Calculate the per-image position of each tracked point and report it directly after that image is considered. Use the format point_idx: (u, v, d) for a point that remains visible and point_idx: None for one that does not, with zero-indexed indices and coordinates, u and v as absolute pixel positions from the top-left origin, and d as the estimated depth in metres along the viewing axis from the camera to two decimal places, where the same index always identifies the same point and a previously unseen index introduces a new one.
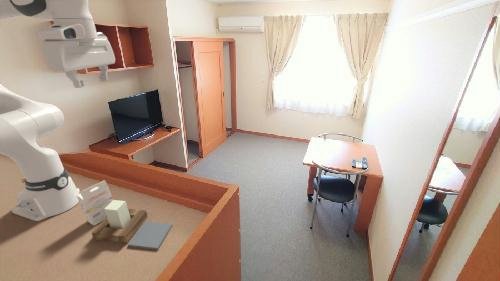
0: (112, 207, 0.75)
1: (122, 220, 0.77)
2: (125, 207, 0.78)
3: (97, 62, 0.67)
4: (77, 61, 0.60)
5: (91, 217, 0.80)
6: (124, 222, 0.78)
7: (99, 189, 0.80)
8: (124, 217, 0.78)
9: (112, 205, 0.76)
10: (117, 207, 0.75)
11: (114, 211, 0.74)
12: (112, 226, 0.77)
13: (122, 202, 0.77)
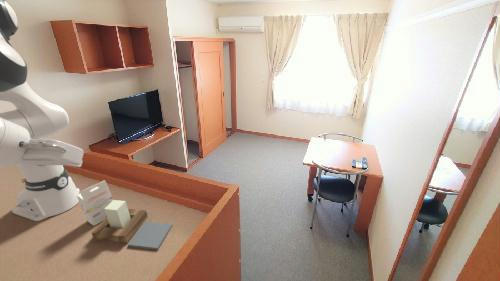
0: (112, 207, 0.75)
1: (122, 220, 0.77)
2: (125, 207, 0.78)
3: (43, 164, 0.50)
4: None
5: (91, 217, 0.80)
6: (124, 222, 0.78)
7: (99, 189, 0.80)
8: (124, 217, 0.78)
9: (112, 205, 0.76)
10: (117, 207, 0.75)
11: (114, 211, 0.74)
12: (112, 226, 0.77)
13: (122, 202, 0.77)
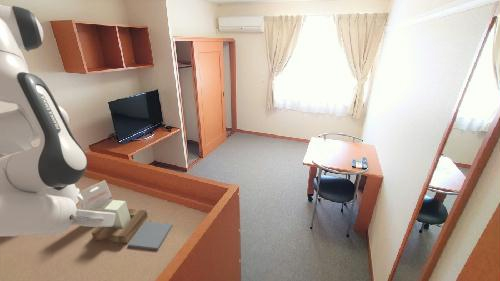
0: (112, 207, 0.75)
1: (122, 220, 0.77)
2: (125, 207, 0.78)
3: None
4: None
5: None
6: (124, 222, 0.78)
7: (99, 189, 0.80)
8: (124, 217, 0.78)
9: (112, 205, 0.76)
10: (117, 207, 0.75)
11: (114, 211, 0.74)
12: (112, 226, 0.77)
13: (122, 202, 0.77)
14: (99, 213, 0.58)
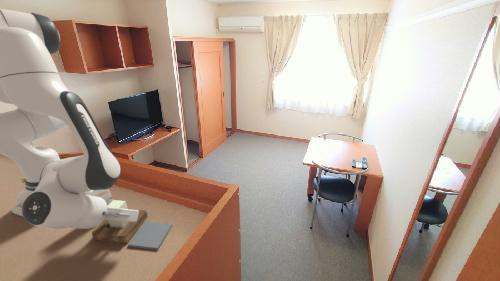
0: None
1: None
2: (125, 207, 0.78)
3: None
4: None
5: None
6: (124, 222, 0.78)
7: None
8: None
9: (112, 205, 0.76)
10: (117, 207, 0.75)
11: None
12: (112, 226, 0.77)
13: (122, 202, 0.77)
14: (126, 210, 0.68)
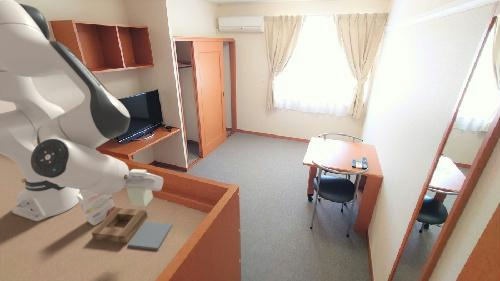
0: None
1: (143, 191, 0.67)
2: None
3: (132, 188, 0.63)
4: None
5: (91, 217, 0.80)
6: (145, 194, 0.68)
7: None
8: None
9: None
10: None
11: None
12: (131, 198, 0.68)
13: (143, 171, 0.68)
14: (151, 174, 0.58)
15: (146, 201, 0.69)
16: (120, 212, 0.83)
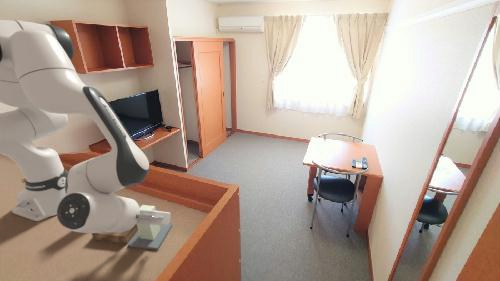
0: None
1: (152, 226, 0.73)
2: None
3: None
4: None
5: None
6: (153, 228, 0.74)
7: None
8: None
9: None
10: None
11: None
12: (141, 232, 0.74)
13: (152, 207, 0.73)
14: (160, 212, 0.63)
15: (154, 234, 0.75)
16: None
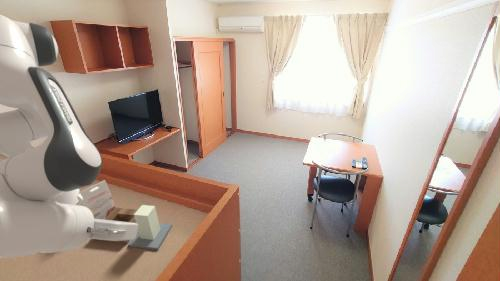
0: (142, 213, 0.71)
1: (152, 226, 0.73)
2: (154, 212, 0.74)
3: None
4: None
5: None
6: (153, 228, 0.74)
7: (99, 189, 0.80)
8: (154, 223, 0.74)
9: (142, 210, 0.72)
10: (147, 213, 0.71)
11: (144, 217, 0.70)
12: (141, 232, 0.74)
13: (152, 207, 0.73)
14: (121, 224, 0.49)
15: (154, 234, 0.75)
16: (120, 212, 0.83)
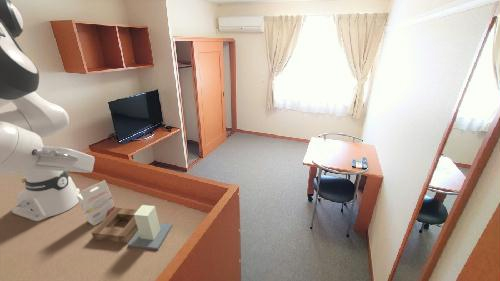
0: (142, 213, 0.71)
1: (152, 226, 0.73)
2: (154, 212, 0.74)
3: (55, 170, 0.50)
4: None
5: (91, 217, 0.80)
6: (153, 228, 0.74)
7: (99, 189, 0.80)
8: (154, 223, 0.74)
9: (142, 210, 0.72)
10: (147, 213, 0.71)
11: (144, 217, 0.70)
12: (141, 232, 0.74)
13: (152, 207, 0.73)
14: (71, 150, 0.46)
15: (154, 234, 0.75)
16: (120, 212, 0.83)
